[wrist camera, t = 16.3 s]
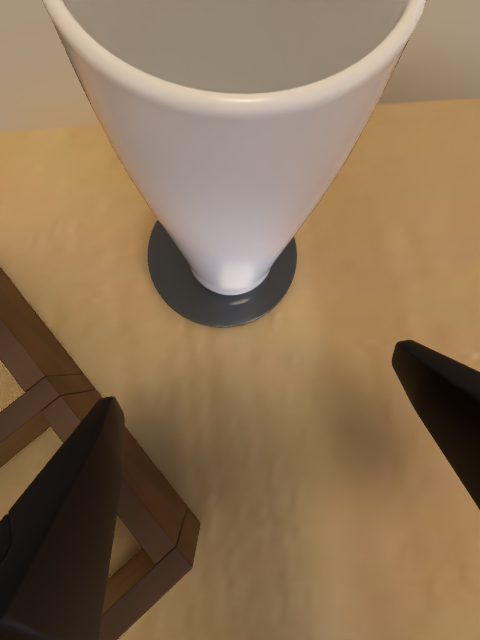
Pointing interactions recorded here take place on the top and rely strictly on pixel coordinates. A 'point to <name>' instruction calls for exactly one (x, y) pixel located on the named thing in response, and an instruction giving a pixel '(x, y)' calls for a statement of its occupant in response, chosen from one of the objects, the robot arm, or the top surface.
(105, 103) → the white tumbler
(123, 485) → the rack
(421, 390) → the robot arm
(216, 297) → the coaster
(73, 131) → the top surface
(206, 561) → the top surface
